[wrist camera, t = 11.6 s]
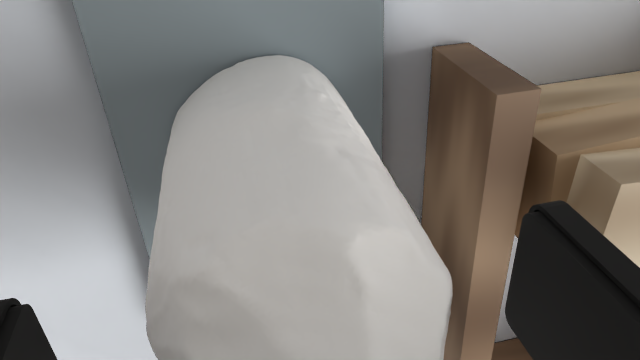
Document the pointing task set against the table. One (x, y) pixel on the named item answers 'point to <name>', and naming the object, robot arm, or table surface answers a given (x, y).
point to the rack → (476, 188)
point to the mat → (217, 66)
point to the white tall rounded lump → (286, 231)
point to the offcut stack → (589, 155)
